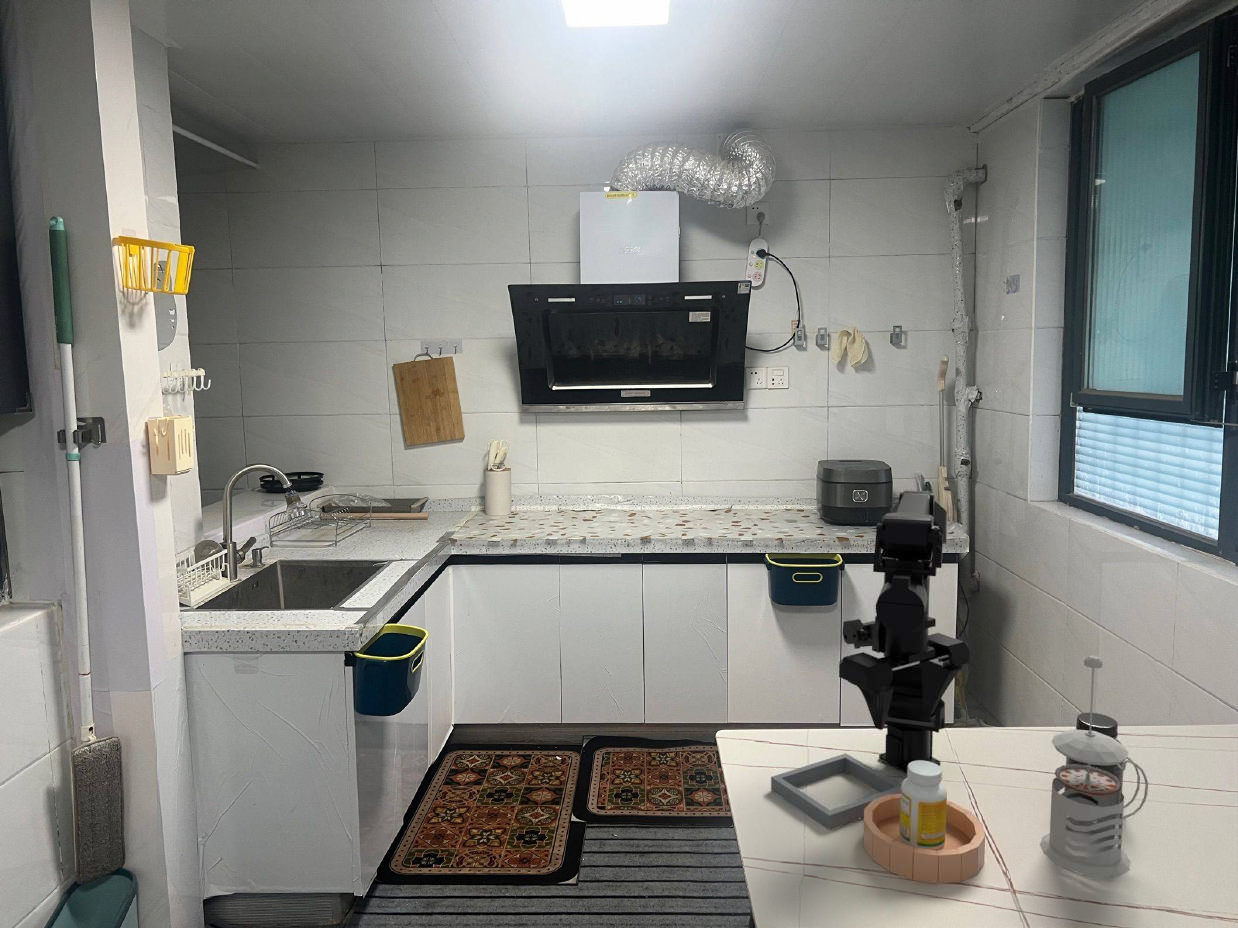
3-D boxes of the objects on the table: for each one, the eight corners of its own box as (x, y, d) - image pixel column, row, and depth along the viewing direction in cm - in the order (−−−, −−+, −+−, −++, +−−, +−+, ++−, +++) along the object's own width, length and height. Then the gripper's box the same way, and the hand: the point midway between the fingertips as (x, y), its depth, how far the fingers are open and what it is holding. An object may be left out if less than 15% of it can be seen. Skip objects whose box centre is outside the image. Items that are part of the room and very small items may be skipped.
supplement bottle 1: (892, 841, 106) (893, 768, 105) (910, 823, 110) (912, 753, 108) (934, 858, 102) (937, 782, 101) (952, 839, 106) (954, 766, 105)
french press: (1025, 830, 109) (1032, 642, 106) (1117, 830, 109) (1127, 641, 106) (1063, 877, 100) (1072, 671, 96) (1164, 876, 99) (1176, 670, 96)
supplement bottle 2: (1057, 804, 115) (1061, 720, 114) (1072, 785, 120) (1075, 704, 119) (1114, 822, 111) (1119, 734, 109) (1127, 801, 116) (1131, 717, 114)
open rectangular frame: (845, 765, 128) (845, 753, 127) (907, 801, 117) (907, 787, 117) (771, 789, 121) (771, 776, 121) (829, 829, 111) (829, 815, 110)
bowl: (918, 807, 115) (919, 783, 115) (1008, 860, 103) (1009, 833, 103) (840, 837, 109) (840, 811, 108) (926, 896, 96) (927, 867, 96)
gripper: (909, 584, 124) (907, 686, 126) (810, 605, 116) (810, 714, 118) (973, 603, 115) (970, 713, 117) (871, 627, 106) (869, 746, 108)
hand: (904, 720), depth 115 cm, fingers open, 9 cm apart
